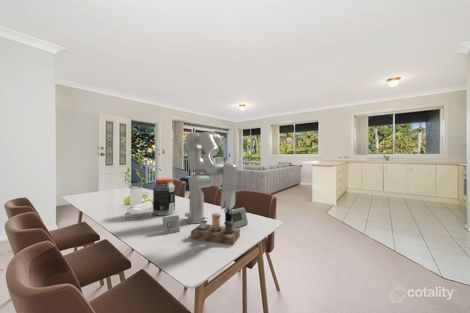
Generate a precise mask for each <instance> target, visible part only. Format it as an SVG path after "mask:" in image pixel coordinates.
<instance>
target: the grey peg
mask: <svg viewBox="0 0 470 313" xmlns="http://www.w3.org/2000/svg"><path fill="white" fill-rule="evenodd" d="M199 221H200V223H199V225H200V230H207V224H208V222H209V218H208V217H205V218H200V219H199Z"/></svg>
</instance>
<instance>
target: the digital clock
mask: <svg viewBox="0 0 470 313" xmlns="http://www.w3.org/2000/svg"><path fill="white" fill-rule="evenodd" d="M232 221H233V228H237V229H239V228H241V226H242V227H244V226H246V225H248V224H249V222H248V217H247V213H246V208H245V207H238V208H235V209H232ZM238 227H239V228H238Z"/></svg>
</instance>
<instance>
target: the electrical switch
mask: <svg viewBox="0 0 470 313" xmlns="http://www.w3.org/2000/svg"><path fill="white" fill-rule="evenodd" d="M180 229H181V227H180V216H179V214H176V215H170V216H169V215H168V216H165V217H164V216H163V217H162V230H163V231H162V234H163V235H167V234H168V235H169V234H174V233H177V232H180V231H181V230H180Z"/></svg>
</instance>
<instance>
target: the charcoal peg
mask: <svg viewBox="0 0 470 313" xmlns="http://www.w3.org/2000/svg"><path fill="white" fill-rule="evenodd" d="M224 227H225V233H226V234H232V230H233V221H231V222H229V221H225V220H224Z"/></svg>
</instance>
